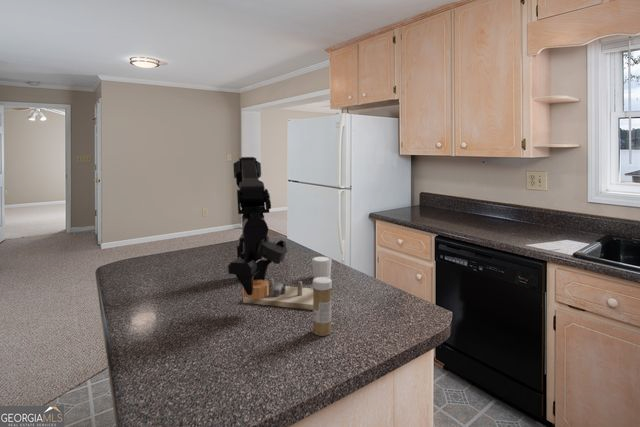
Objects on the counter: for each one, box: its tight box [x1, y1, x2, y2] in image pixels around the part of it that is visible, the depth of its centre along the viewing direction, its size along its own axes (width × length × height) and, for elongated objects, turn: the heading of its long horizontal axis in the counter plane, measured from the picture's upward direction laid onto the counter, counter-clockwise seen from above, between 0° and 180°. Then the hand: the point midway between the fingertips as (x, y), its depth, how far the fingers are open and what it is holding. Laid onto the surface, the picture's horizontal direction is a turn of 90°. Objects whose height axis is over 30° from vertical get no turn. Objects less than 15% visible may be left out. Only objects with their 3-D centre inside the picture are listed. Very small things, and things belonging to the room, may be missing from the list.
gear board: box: [242, 278, 313, 311], centre depth 113 cm, size 22×12×6 cm, turn 75°
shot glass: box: [311, 255, 333, 279], centre depth 130 cm, size 7×7×7 cm
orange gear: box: [241, 279, 269, 299], centre depth 101 cm, size 7×7×3 cm
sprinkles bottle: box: [312, 277, 333, 337], centre depth 91 cm, size 5×5×13 cm
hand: (255, 289), depth 102 cm, fingers closed on orange gear, 7 cm apart
